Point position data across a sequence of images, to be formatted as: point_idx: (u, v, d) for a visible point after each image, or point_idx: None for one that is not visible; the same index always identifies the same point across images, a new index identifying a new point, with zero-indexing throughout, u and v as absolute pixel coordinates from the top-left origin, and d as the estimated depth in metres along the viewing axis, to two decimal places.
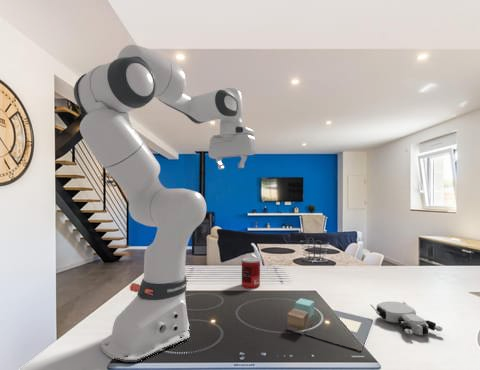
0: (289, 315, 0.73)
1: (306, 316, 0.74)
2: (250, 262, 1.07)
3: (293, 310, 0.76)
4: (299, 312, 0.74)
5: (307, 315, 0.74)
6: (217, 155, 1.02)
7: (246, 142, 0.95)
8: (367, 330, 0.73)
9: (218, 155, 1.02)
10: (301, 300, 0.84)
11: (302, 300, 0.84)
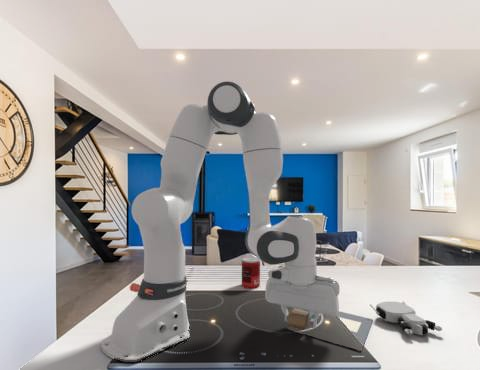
0: (290, 315, 0.73)
1: (307, 316, 0.74)
2: (250, 262, 1.07)
3: (294, 310, 0.76)
4: (300, 312, 0.74)
5: (307, 315, 0.74)
6: None
7: None
8: (367, 330, 0.73)
9: None
10: None
11: None
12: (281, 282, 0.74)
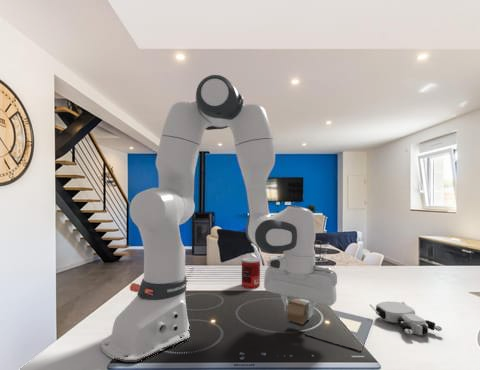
0: (289, 304, 0.74)
1: (306, 306, 0.74)
2: (250, 262, 1.07)
3: (294, 300, 0.76)
4: (300, 302, 0.75)
5: (307, 305, 0.74)
6: None
7: None
8: (367, 330, 0.73)
9: None
10: None
11: (302, 300, 0.84)
12: (279, 271, 0.75)
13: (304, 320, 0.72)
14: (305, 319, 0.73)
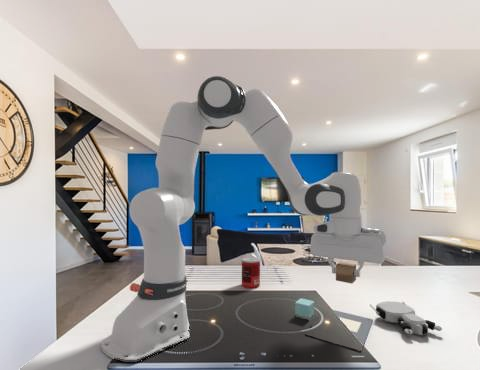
0: (338, 266, 0.77)
1: (354, 267, 0.77)
2: (250, 262, 1.07)
3: (340, 262, 0.79)
4: (347, 264, 0.77)
5: (355, 266, 0.77)
6: None
7: None
8: (367, 330, 0.73)
9: None
10: (301, 300, 0.84)
11: (302, 300, 0.84)
12: (327, 235, 0.78)
13: (353, 280, 0.75)
14: (354, 279, 0.76)
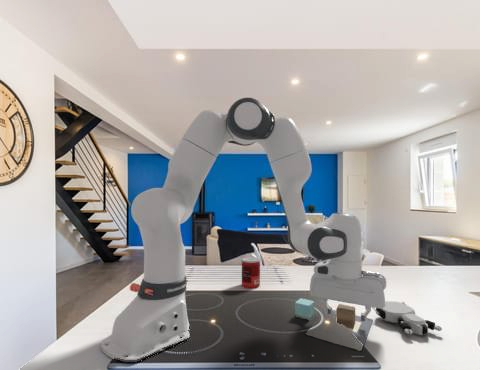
0: (338, 310, 0.76)
1: (354, 310, 0.76)
2: (250, 262, 1.07)
3: (340, 305, 0.78)
4: (347, 307, 0.77)
5: (354, 309, 0.77)
6: None
7: None
8: (367, 330, 0.73)
9: None
10: (301, 300, 0.84)
11: (302, 300, 0.84)
12: (327, 277, 0.77)
13: (354, 324, 0.75)
14: (354, 323, 0.75)
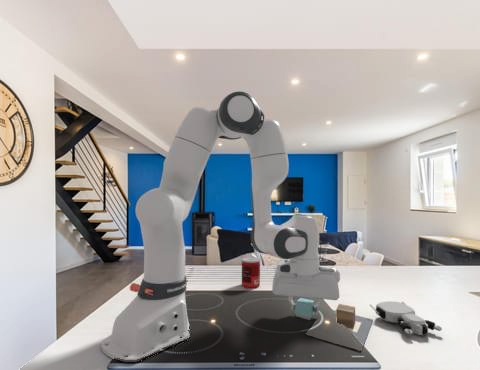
0: (338, 310, 0.76)
1: (354, 310, 0.76)
2: (250, 262, 1.07)
3: (340, 305, 0.78)
4: (347, 307, 0.77)
5: (354, 309, 0.77)
6: None
7: None
8: (367, 330, 0.73)
9: None
10: (301, 300, 0.84)
11: (302, 300, 0.84)
12: (289, 275, 0.81)
13: (354, 324, 0.75)
14: (354, 323, 0.75)
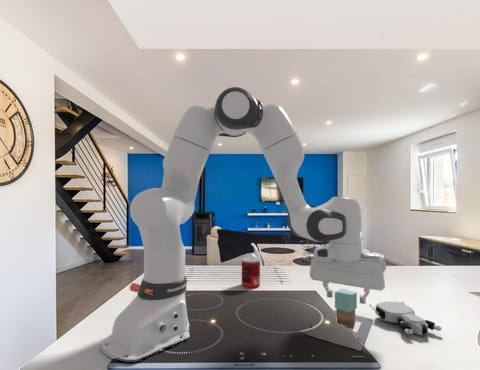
0: (338, 310, 0.76)
1: (354, 310, 0.76)
2: (250, 262, 1.07)
3: None
4: None
5: None
6: None
7: None
8: (367, 330, 0.73)
9: None
10: (342, 290, 0.78)
11: (343, 290, 0.78)
12: (327, 260, 0.77)
13: (354, 324, 0.75)
14: (354, 323, 0.75)
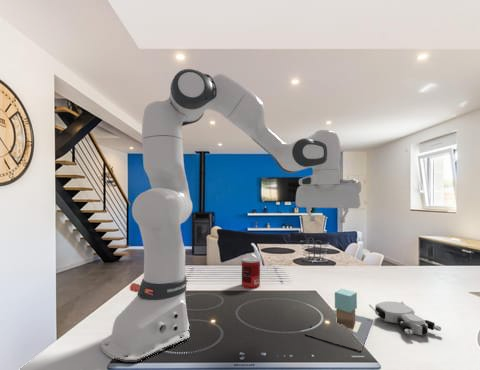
0: (338, 310, 0.76)
1: (354, 310, 0.76)
2: (250, 262, 1.07)
3: None
4: None
5: None
6: None
7: None
8: (367, 330, 0.73)
9: None
10: (342, 290, 0.78)
11: (343, 290, 0.78)
12: (310, 187, 0.87)
13: (354, 324, 0.75)
14: (354, 323, 0.75)
